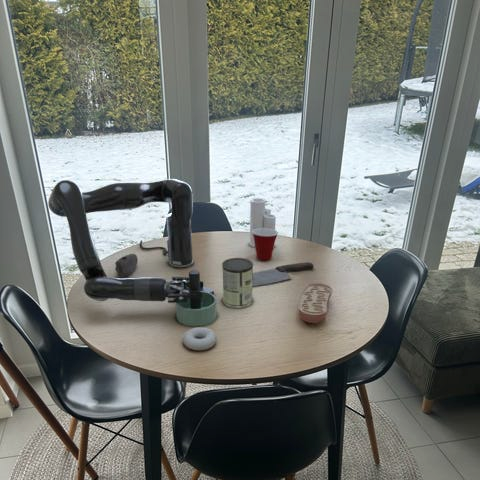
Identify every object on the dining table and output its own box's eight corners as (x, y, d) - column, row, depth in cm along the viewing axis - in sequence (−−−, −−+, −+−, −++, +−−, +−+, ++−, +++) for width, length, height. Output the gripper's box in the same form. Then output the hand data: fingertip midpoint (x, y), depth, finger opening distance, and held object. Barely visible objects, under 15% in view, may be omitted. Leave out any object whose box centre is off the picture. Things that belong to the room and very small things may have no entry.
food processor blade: (179, 317, 152) (176, 274, 145) (191, 306, 158) (189, 265, 151) (201, 322, 149) (199, 279, 142) (212, 311, 156) (211, 269, 148)
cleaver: (307, 264, 191) (307, 259, 190) (320, 273, 184) (321, 268, 183) (241, 278, 180) (241, 273, 179) (253, 288, 173) (253, 283, 172)
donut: (215, 334, 145) (183, 334, 144) (215, 324, 143) (182, 325, 142) (217, 352, 136) (182, 353, 136) (217, 342, 135) (182, 343, 134)
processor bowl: (168, 316, 154) (167, 299, 151) (198, 303, 162) (197, 287, 159) (194, 330, 146) (193, 314, 143) (224, 316, 154) (224, 300, 151)
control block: (174, 292, 169) (173, 283, 168) (192, 284, 175) (191, 276, 173) (195, 303, 162) (195, 294, 160) (214, 295, 167) (213, 286, 166)
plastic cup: (280, 256, 199) (282, 228, 193) (271, 265, 191) (272, 237, 185) (257, 251, 203) (258, 224, 197) (247, 260, 194) (247, 232, 188)
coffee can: (228, 292, 169) (228, 255, 162) (256, 297, 166) (257, 259, 159) (218, 305, 161) (217, 267, 154) (246, 310, 158) (247, 271, 151)
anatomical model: (324, 330, 147) (325, 316, 145) (292, 325, 149) (293, 311, 147) (332, 297, 166) (333, 285, 164) (304, 294, 168) (305, 281, 166)
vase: (248, 246, 208) (248, 201, 198) (251, 240, 214) (252, 197, 204) (273, 248, 206) (275, 203, 196) (276, 243, 212) (278, 198, 202)
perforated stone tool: (131, 264, 191) (129, 247, 187) (143, 265, 190) (141, 249, 186) (112, 279, 178) (110, 262, 175) (125, 281, 177) (123, 263, 174)
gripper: (154, 289, 157) (204, 289, 158) (147, 310, 145) (201, 310, 145) (152, 269, 154) (203, 269, 154) (145, 288, 141) (200, 288, 141)
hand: (202, 289), depth 149 cm, fingers open, 6 cm apart
